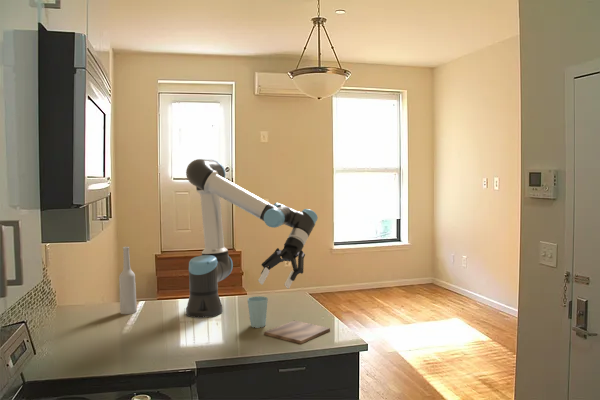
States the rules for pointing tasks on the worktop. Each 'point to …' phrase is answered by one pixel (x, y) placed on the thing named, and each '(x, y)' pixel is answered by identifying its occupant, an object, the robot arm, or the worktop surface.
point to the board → (297, 331)
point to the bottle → (127, 286)
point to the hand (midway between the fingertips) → (273, 284)
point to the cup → (257, 311)
